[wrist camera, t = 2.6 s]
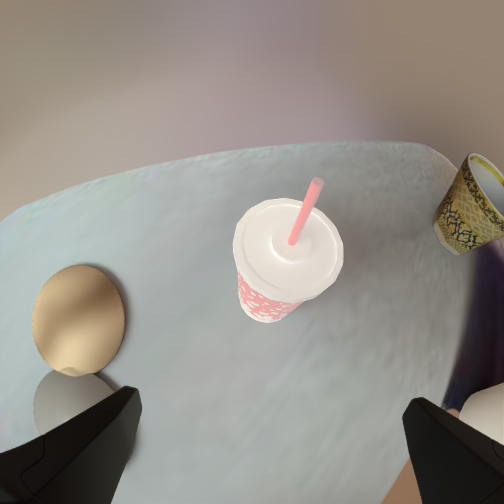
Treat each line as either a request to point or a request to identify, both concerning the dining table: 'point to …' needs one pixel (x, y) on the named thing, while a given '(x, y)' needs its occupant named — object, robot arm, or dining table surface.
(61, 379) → the grey dome cap
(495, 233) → the ceramic cup
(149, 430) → the dining table surface
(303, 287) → the beverage cup
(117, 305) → the shiny gold rounded object
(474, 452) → the robot arm
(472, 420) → the foam cup
